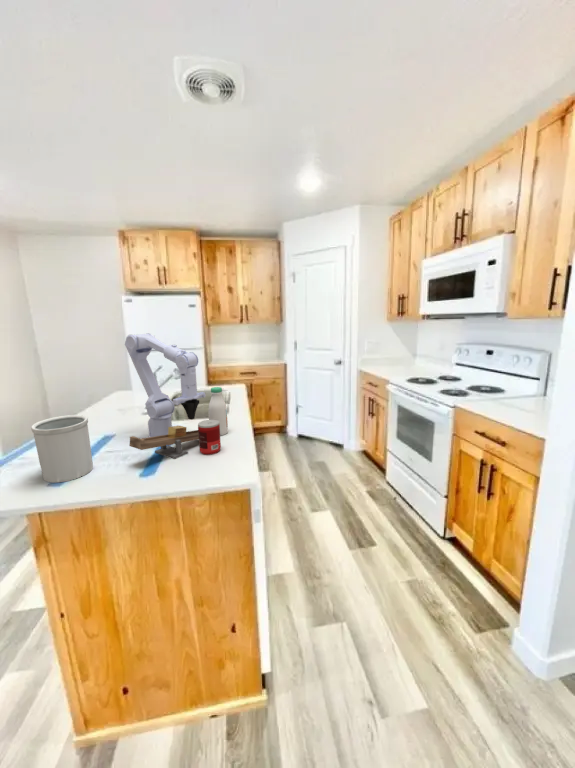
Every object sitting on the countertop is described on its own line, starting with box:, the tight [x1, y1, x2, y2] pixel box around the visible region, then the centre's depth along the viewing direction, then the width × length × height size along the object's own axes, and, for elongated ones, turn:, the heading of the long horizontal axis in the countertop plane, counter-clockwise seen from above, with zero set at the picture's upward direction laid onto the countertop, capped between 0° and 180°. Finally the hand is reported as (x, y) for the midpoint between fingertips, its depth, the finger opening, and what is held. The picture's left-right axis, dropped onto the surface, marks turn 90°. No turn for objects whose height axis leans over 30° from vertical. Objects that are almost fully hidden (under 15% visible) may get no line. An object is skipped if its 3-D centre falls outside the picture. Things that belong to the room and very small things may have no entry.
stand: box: [154, 440, 189, 460], centre depth 123 cm, size 11×6×6 cm, turn 58°
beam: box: [129, 429, 199, 451], centre depth 124 cm, size 7×32×3 cm, turn 148°
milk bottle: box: [207, 386, 229, 436], centre depth 142 cm, size 8×8×20 cm
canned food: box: [197, 419, 222, 455], centre depth 124 cm, size 8×8×11 cm
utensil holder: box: [31, 414, 94, 484], centre depth 107 cm, size 15×15×18 cm
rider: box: [168, 425, 187, 438], centre depth 125 cm, size 4×5×4 cm
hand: (191, 418), depth 130 cm, fingers closed
